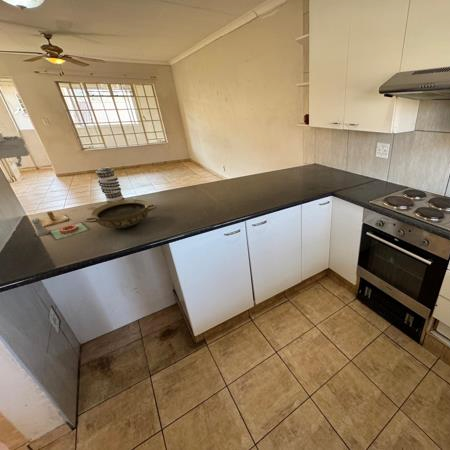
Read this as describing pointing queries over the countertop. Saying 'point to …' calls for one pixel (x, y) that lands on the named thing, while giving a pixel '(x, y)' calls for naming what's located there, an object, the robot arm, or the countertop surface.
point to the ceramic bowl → (121, 213)
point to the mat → (58, 235)
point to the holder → (53, 219)
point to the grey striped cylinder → (109, 184)
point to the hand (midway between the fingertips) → (5, 168)
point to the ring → (65, 231)
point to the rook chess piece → (39, 227)
